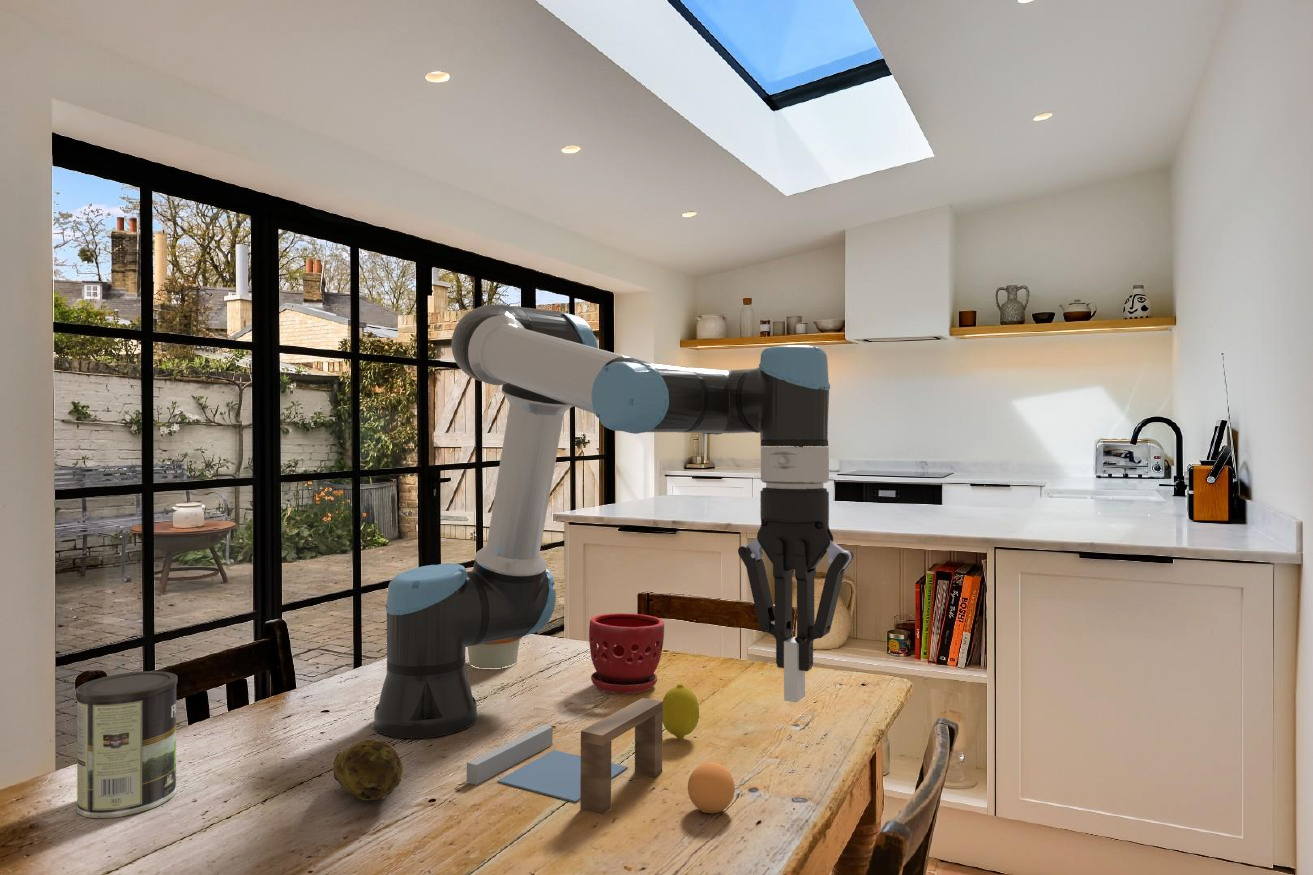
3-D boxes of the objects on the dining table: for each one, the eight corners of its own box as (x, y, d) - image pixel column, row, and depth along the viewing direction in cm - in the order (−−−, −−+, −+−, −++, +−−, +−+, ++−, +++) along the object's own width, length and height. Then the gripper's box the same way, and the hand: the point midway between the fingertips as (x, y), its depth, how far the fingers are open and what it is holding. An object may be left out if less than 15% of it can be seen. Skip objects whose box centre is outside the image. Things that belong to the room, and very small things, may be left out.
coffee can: (163, 775, 107) (164, 665, 107) (187, 800, 100) (188, 682, 100) (67, 799, 100) (67, 681, 100) (84, 828, 93) (85, 701, 93)
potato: (403, 776, 107) (403, 713, 107) (402, 820, 95) (402, 749, 95) (334, 783, 105) (334, 719, 105) (323, 829, 93) (324, 757, 93)
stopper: (466, 782, 106) (466, 762, 106) (543, 742, 120) (543, 724, 120) (476, 784, 105) (476, 764, 105) (552, 744, 119) (552, 726, 119)
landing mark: (497, 781, 106) (497, 780, 106) (553, 751, 116) (553, 749, 116) (575, 802, 100) (575, 800, 100) (627, 768, 110) (627, 766, 110)
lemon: (695, 747, 118) (696, 690, 118) (657, 744, 119) (657, 688, 119) (701, 733, 123) (702, 679, 123) (664, 731, 124) (665, 677, 125)
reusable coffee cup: (506, 651, 170) (507, 578, 170) (538, 665, 160) (538, 586, 160) (449, 661, 162) (449, 584, 162) (478, 676, 152) (478, 594, 152)
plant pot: (639, 703, 138) (639, 630, 138) (574, 690, 144) (574, 621, 144) (677, 683, 149) (677, 616, 149) (615, 672, 156) (615, 608, 156)
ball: (679, 814, 97) (679, 767, 97) (700, 797, 102) (700, 751, 102) (722, 825, 94) (722, 776, 94) (742, 807, 99) (742, 760, 99)
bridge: (580, 809, 98) (580, 730, 98) (642, 767, 111) (642, 697, 111) (601, 815, 97) (602, 735, 97) (662, 771, 109) (662, 701, 109)
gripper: (726, 485, 93) (727, 698, 93) (842, 488, 87) (842, 717, 86) (753, 483, 99) (753, 681, 99) (861, 485, 93) (862, 698, 93)
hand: (794, 698), depth 93 cm, fingers closed
